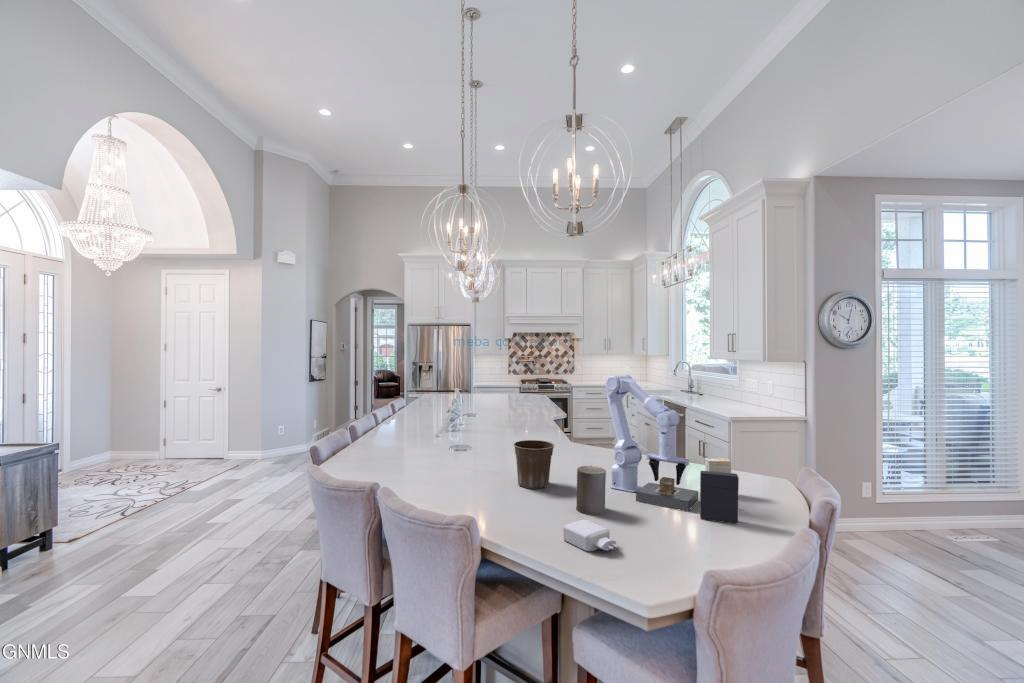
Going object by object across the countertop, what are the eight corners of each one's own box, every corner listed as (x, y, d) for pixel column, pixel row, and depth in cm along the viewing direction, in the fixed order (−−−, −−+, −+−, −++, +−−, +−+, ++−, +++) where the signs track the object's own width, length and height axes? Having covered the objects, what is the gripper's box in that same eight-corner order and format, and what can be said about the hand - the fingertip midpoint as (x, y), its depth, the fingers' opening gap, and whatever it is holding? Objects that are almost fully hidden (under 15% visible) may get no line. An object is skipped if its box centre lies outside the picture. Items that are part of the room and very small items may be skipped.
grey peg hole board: (635, 501, 170) (636, 491, 170) (648, 491, 181) (649, 482, 181) (687, 511, 160) (688, 500, 160) (698, 500, 171) (698, 490, 171)
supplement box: (727, 492, 181) (727, 458, 182) (731, 496, 177) (731, 461, 177) (704, 491, 182) (704, 457, 182) (708, 495, 178) (708, 460, 178)
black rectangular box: (736, 519, 152) (737, 473, 153) (738, 524, 148) (738, 476, 149) (699, 515, 156) (700, 469, 156) (700, 520, 152) (700, 472, 152)
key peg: (659, 501, 170) (659, 479, 170) (662, 498, 173) (663, 476, 173) (670, 504, 167) (671, 481, 167) (674, 501, 171) (674, 478, 171)
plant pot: (555, 491, 180) (555, 448, 180) (512, 490, 180) (513, 448, 181) (552, 479, 197) (552, 440, 197) (513, 478, 197) (513, 439, 197)
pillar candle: (570, 509, 160) (571, 465, 160) (586, 502, 167) (587, 460, 167) (595, 517, 153) (595, 471, 153) (611, 510, 161) (611, 465, 160)
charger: (602, 561, 122) (563, 541, 134) (626, 552, 128) (586, 534, 140) (603, 543, 122) (563, 525, 134) (627, 535, 128) (586, 518, 140)
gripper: (644, 443, 172) (643, 481, 171) (685, 449, 163) (685, 488, 163) (650, 440, 177) (650, 476, 177) (690, 445, 169) (690, 483, 169)
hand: (667, 482), depth 171 cm, fingers open, 7 cm apart
